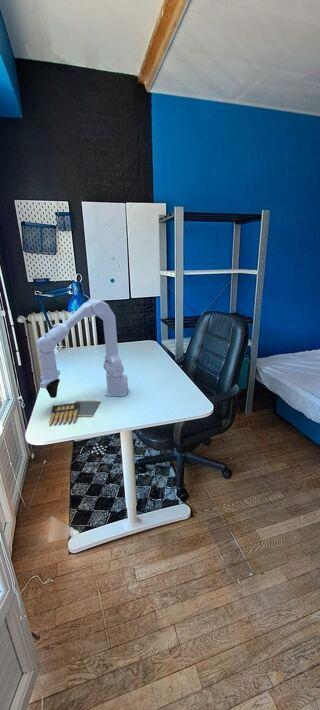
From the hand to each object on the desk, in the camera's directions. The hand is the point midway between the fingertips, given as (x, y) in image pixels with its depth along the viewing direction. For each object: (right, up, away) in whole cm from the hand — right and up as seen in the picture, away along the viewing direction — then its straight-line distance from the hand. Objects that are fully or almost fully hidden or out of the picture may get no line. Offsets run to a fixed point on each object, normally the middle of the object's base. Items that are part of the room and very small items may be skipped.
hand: (53, 397), depth 123 cm
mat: (+12, -5, +1) cm, 13 cm away
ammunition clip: (+5, -4, 0) cm, 7 cm away
